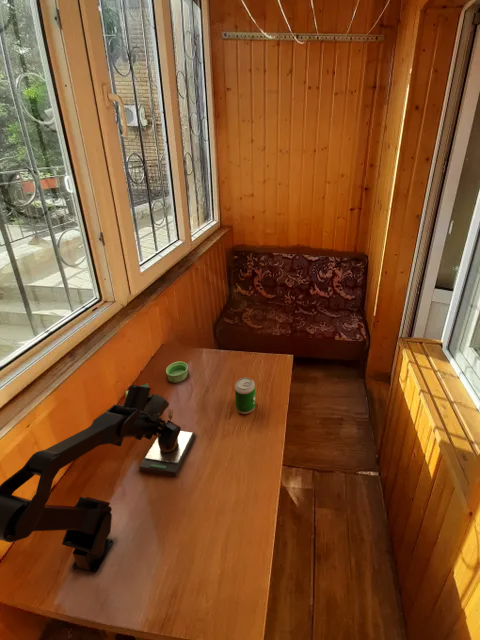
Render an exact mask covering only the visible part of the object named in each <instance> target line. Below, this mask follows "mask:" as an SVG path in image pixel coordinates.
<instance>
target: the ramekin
mask: <svg viewBox="0 0 480 640" xmlns="http://www.w3.org/2000/svg"><path fill="white" fill-rule="evenodd" d="M188 368H189V366H188V364H187V363H186V362H184V361H175V362H172V363H170V364H169V365H168V366H167V367H166V369H165V374H166V376H167V379H168V381H169V382H170V383H176V384H177V383H180V382H182V381H184V380H185V379H187V377H188Z"/></svg>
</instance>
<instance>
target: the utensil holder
mask: <svg viewBox="0 0 480 640" xmlns="http://www.w3.org/2000/svg"><path fill="white" fill-rule="evenodd" d="M167 417H168V420H169V421H171V422H172V419H173V418H174V409H172V408H168V416H167ZM157 436H158V440H159V438H160V434H159V433H157ZM177 444H178V438H177V440H176V442H175V445H174V447H173V449H171V450H166V449H164V448H163V447H161V446H160V445H159V448H160V450H161V451H162V452H170V451H172V450H174V449H175V448H176V446H177Z"/></svg>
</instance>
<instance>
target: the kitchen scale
mask: <svg viewBox="0 0 480 640" xmlns="http://www.w3.org/2000/svg"><path fill="white" fill-rule="evenodd" d="M156 436H157V437H156V438H155V439H154V441H153V443H152V444H151V446H150V448H149V449H148V451H147V453H146V454H145V456H144V457H143V459H142V461H141V462H140V464H139V465H138V467H139V468H138V469H139V471H140V472H143V473H149V474H150V473H151V474H156V475H163V476H169V477H175V478H176V477H177V476H178V473H179V472H180V469H182V466H183V463H184V461H185V459H186V457H187V455H188V453H189V451H190V449H191V446H192V445H193V443H194V440H195V439H196V432H194V431H193V432H192V431H186V430H181V431H180V433H179V436H178V444H177V446H176V448H175V449H174V450H172V451H170V452H162V451H161V450H160V448H159V445H158V435H156Z"/></svg>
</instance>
